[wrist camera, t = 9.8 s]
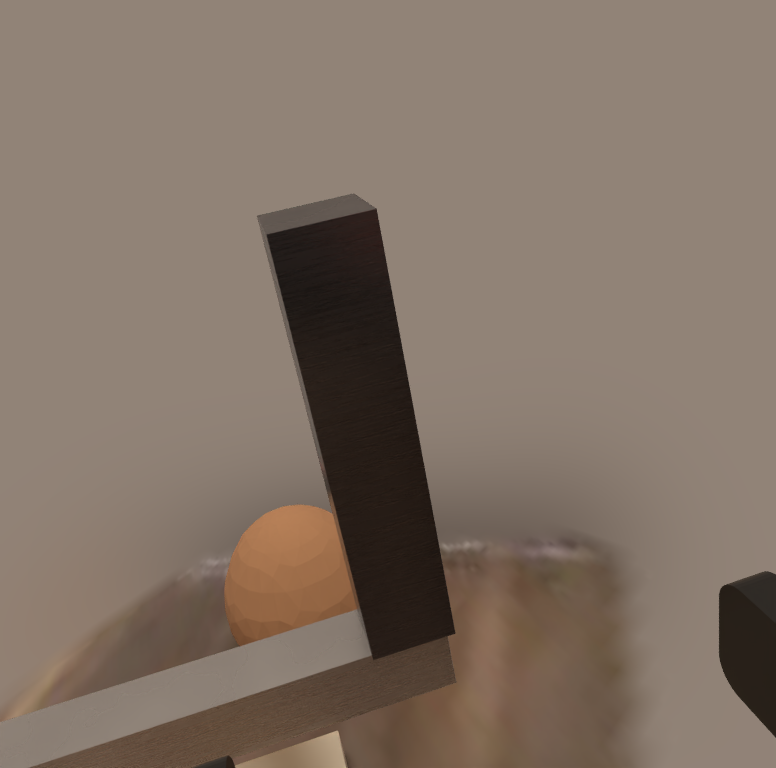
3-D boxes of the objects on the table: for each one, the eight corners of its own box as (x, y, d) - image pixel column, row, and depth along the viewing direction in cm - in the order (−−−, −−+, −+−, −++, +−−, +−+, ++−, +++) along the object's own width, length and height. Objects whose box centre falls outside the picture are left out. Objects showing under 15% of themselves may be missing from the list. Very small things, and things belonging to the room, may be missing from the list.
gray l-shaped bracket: (-250, 928, 19) (-677, 454, 13) (-204, 840, 21) (-553, 401, 15) (464, 685, 22) (376, 208, 16) (440, 630, 24) (354, 193, 18)
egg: (245, 629, 39) (200, 497, 36) (377, 589, 41) (346, 456, 37) (255, 740, 33) (201, 591, 29) (412, 688, 34) (378, 538, 30)
